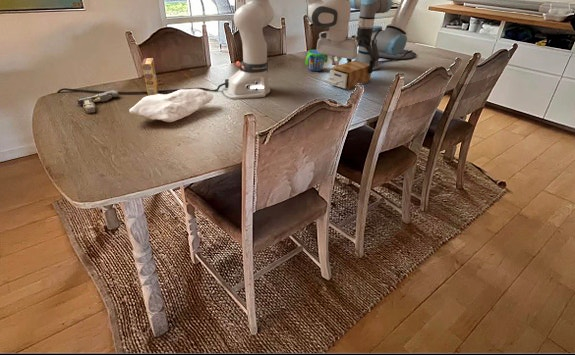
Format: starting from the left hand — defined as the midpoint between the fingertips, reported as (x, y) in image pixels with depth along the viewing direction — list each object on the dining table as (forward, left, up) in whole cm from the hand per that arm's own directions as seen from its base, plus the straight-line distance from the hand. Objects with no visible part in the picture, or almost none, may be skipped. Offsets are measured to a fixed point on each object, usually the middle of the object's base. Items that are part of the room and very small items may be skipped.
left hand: (335, 65), depth 176 cm
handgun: (-105, +20, -12) cm, 107 cm away
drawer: (+9, +3, -11) cm, 14 cm away
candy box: (-83, +23, -12) cm, 87 cm away
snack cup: (+9, +32, -12) cm, 35 cm away
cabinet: (+15, +5, -12) cm, 20 cm away
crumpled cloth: (-79, -2, -12) cm, 80 cm away
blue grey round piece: (+78, +49, -12) cm, 93 cm away
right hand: (+21, +7, -6) cm, 23 cm away
